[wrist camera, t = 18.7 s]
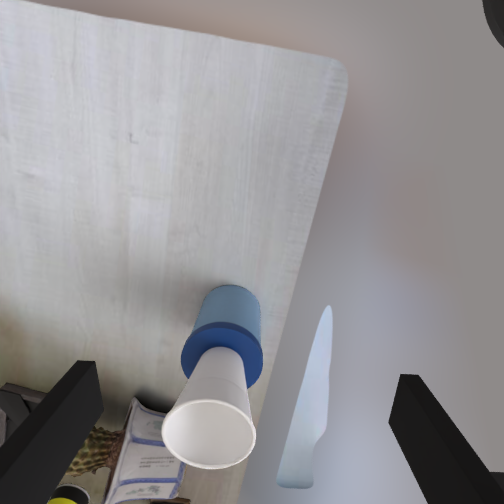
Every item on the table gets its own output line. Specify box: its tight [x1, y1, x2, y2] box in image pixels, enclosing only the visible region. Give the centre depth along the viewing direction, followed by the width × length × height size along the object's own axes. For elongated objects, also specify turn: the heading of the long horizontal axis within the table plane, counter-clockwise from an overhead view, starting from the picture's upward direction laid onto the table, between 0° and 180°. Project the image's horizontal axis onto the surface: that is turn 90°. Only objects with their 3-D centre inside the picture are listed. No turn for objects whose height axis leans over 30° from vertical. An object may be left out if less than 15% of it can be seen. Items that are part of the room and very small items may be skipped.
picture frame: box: [0, 383, 47, 447], centre depth 62 cm, size 13×2×18 cm
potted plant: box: [65, 397, 187, 504], centre depth 52 cm, size 18×18×30 cm
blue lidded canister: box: [181, 285, 263, 389], centre depth 46 cm, size 12×12×14 cm
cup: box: [161, 347, 256, 469], centre depth 34 cm, size 10×10×11 cm
